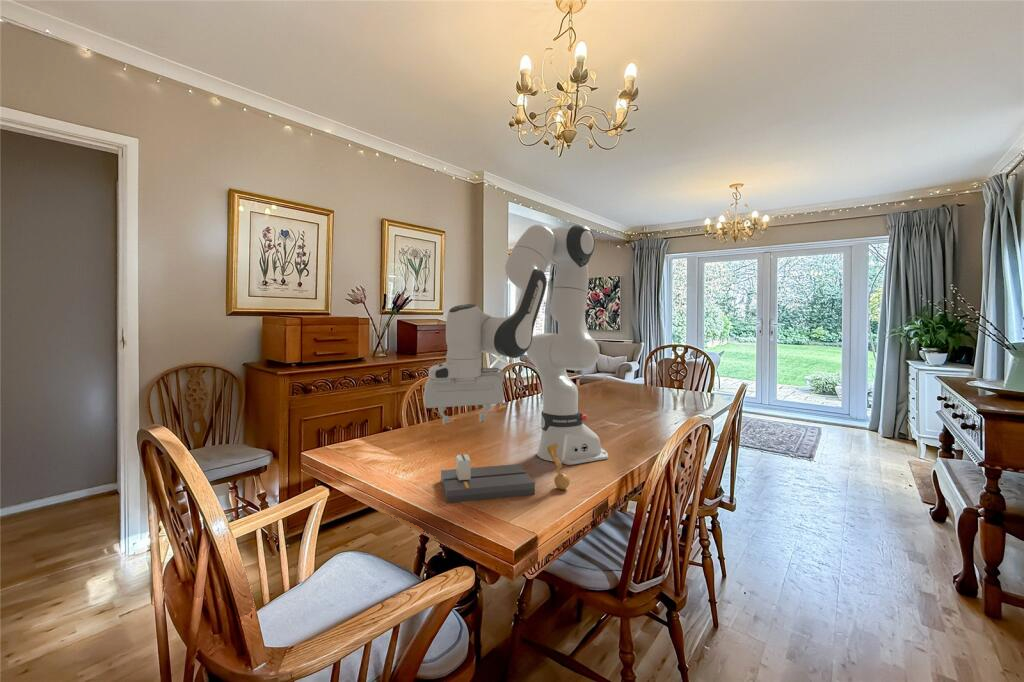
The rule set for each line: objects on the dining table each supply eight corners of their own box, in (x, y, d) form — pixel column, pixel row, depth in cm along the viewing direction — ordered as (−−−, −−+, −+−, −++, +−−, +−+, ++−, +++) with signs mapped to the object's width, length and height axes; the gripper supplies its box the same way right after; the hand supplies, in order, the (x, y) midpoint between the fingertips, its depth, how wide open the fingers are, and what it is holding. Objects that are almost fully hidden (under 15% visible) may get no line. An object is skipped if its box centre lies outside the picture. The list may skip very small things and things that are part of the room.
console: (519, 474, 125) (519, 463, 125) (534, 494, 112) (534, 481, 111) (440, 481, 119) (440, 469, 119) (447, 503, 106) (447, 489, 106)
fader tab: (467, 479, 116) (467, 454, 116) (470, 485, 112) (470, 459, 112) (456, 480, 116) (456, 454, 115) (458, 486, 111) (458, 460, 111)
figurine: (570, 495, 111) (571, 448, 110) (546, 494, 111) (547, 447, 111) (568, 482, 119) (569, 439, 118) (546, 482, 120) (546, 438, 119)
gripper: (501, 365, 118) (501, 416, 119) (422, 368, 112) (423, 422, 113) (506, 368, 111) (507, 422, 113) (424, 372, 106) (425, 428, 107)
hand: (464, 422), depth 113 cm, fingers open, 8 cm apart
